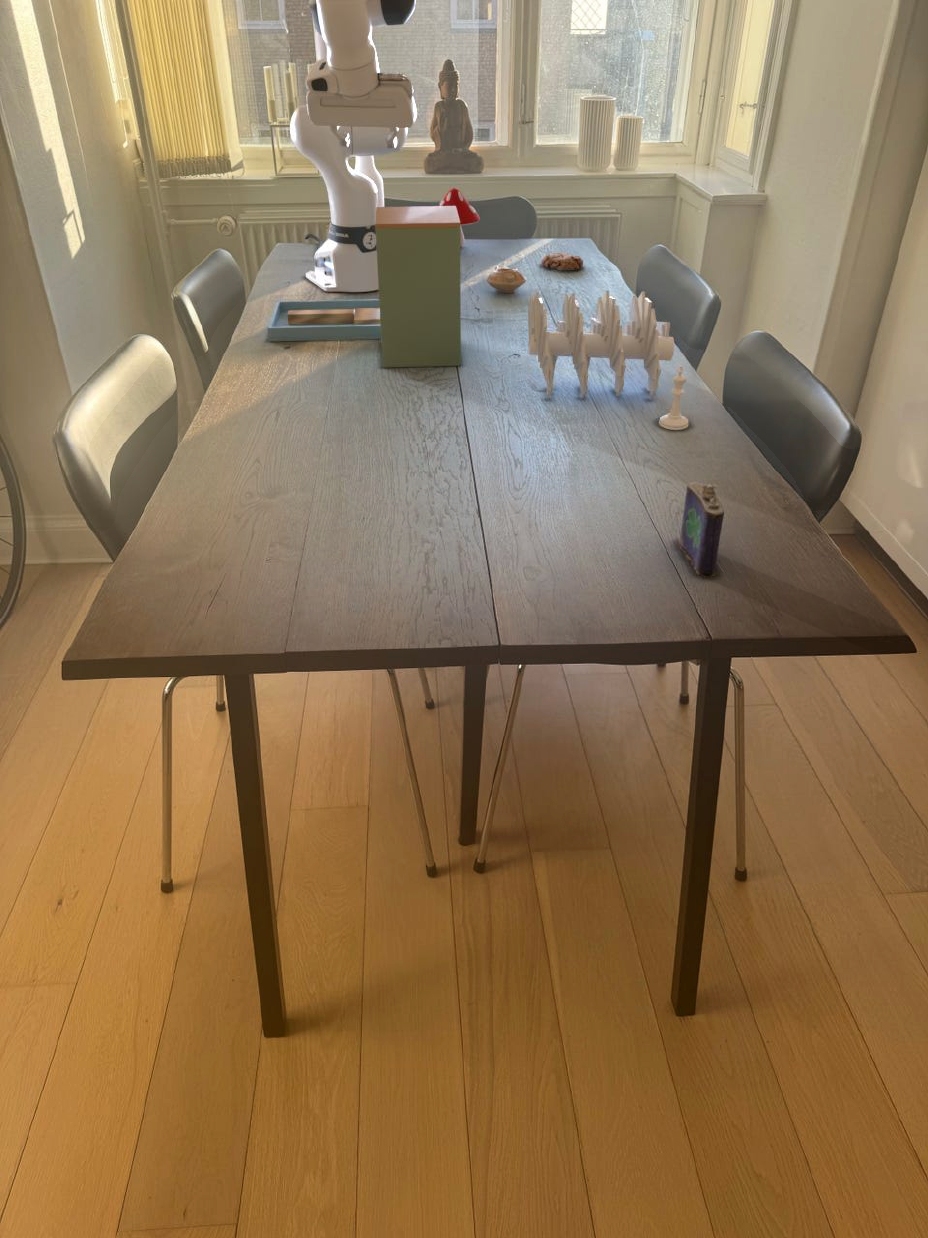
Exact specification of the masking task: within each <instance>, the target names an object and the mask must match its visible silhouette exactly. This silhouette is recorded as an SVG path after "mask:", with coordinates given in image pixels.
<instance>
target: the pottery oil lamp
mask: <svg viewBox="0 0 928 1238" xmlns="http://www.w3.org/2000/svg"><path fill="white" fill-rule="evenodd" d="M485 282H486V283H487V284H489V285H490V286H491V287H492V288H493V289H495V290H496V291H497V292H499V293H502V294H511V293H513V292H515V291H516V290H517V289H519V288H520V287H521V286H523V285H524V284H525V283H526V282H527V278H526V276H524V274H523V273H522V272H521V271H519V270H518V268H510V267H508V266H504V265H497V266H495V268H494V270H493V271H492V272H491V273H490V274H489V275H487V277H486V279H485Z"/></svg>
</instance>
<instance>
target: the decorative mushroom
mask: <svg viewBox="0 0 928 1238" xmlns="http://www.w3.org/2000/svg"><path fill="white" fill-rule="evenodd" d="M437 206H456V209H457V212H458V216H459V220H460V248H462V247H463V246H464V245H465V244H466V243H465V242H466V240H465V235H464V232H463V228H462V226H470V225H473V224H476V223H478V222H480V220H481V218H480V215H479V214H478V212H477V211H476V209H475V208H474V207H473V206H472V205H471V204H470V203H469V201H468V200H467V199H466V198H465V196H464V195H463V193H462V192H461V190H460V189H458V188H455V187H453V188H450V189H449V190H448V191H447V192H446V193H445V196H444V197H443V198H442V199H441V200H440V202H439V204H438V205H437Z"/></svg>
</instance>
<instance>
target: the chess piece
mask: <svg viewBox="0 0 928 1238" xmlns="http://www.w3.org/2000/svg"><path fill="white" fill-rule="evenodd" d="M683 368H684V366H683V365H679V369H678V373H677V375H675V376H673V379H672V380H673V383H674V384H673V385H674V388H673V389H671V392H670V393H671V394H672V395H673V401H672V404H671V407H670V411H669V412H668V413H667V414H665V415H662V416H660V418H659V421H658V425H659V427H661V428H664V429H665V430H672V431H679V430H680V431H681V430H685V429H687V428H688V427H689V423H690V422H689V419H688V418H687V417H686V416H683V414H681V396H683V395H685V390H684V389H683V387H684V384H685V383H686V380H687V378H686V377H685V376H684V375H683V372H684V371H683Z"/></svg>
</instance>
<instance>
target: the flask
mask: <svg viewBox="0 0 928 1238" xmlns="http://www.w3.org/2000/svg"><path fill="white" fill-rule="evenodd" d="M715 488H716V489H717V488H719V484H716V483H713V484H712V483H708V484H705V483H701V482H698V481H693V482H689V483H687V484H686V489H685V490H686V491H685V498H684V504H683V505H684V507H683V508H684V509H683V512H682V513H683V514H682V520H681V526H680V532H679V539H678V547H679V549H680V550H682V551H683V552H684V555H685V558H686V559H687V560H688V561H691V563H690V564H691V565H692V566H693V569H694V570H695V572H696V574H697V575H699V576H701V577H703V578H705V577H706V578H709V577H713V576H715V574H716V569H717V560H718V554H719V553H718V552H719V546H720V539H721V533H722V530H723V529H722V528H723V521H724V517H725V510H724V508H723V505H722V502H721V501H720V499H719V498H718V495H717V493H716V492H715Z"/></svg>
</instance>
